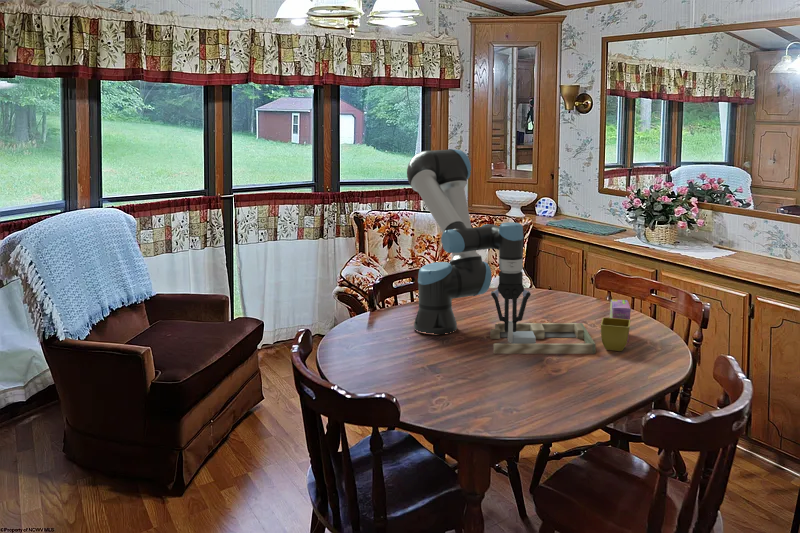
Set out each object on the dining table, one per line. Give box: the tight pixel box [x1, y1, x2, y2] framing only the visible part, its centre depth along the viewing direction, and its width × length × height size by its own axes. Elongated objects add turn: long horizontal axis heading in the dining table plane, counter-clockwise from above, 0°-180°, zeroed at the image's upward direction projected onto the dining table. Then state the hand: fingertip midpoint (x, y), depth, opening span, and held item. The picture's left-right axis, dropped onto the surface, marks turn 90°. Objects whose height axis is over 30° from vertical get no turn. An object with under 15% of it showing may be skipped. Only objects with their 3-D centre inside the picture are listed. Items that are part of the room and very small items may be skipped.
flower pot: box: [600, 317, 631, 352], centre depth 238 cm, size 9×9×9 cm
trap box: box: [490, 322, 597, 355], centre depth 246 cm, size 32×23×3 cm
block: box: [510, 331, 537, 344], centre depth 243 cm, size 7×7×4 cm
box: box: [609, 299, 631, 343], centre depth 249 cm, size 10×6×12 cm, turn 168°
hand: (510, 341), depth 243 cm, fingers closed
